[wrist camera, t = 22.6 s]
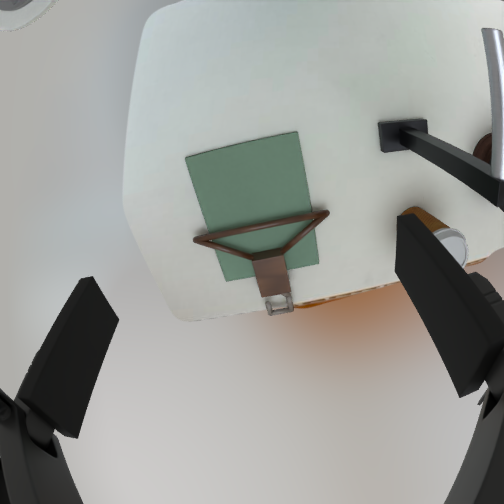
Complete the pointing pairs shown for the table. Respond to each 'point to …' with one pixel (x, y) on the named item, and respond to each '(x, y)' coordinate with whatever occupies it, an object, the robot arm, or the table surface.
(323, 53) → the table surface
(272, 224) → the hanger
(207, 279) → the table surface
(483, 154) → the black ball on stand
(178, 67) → the table surface
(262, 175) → the mat
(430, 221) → the disposable coffee cup
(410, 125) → the black and grey stand
